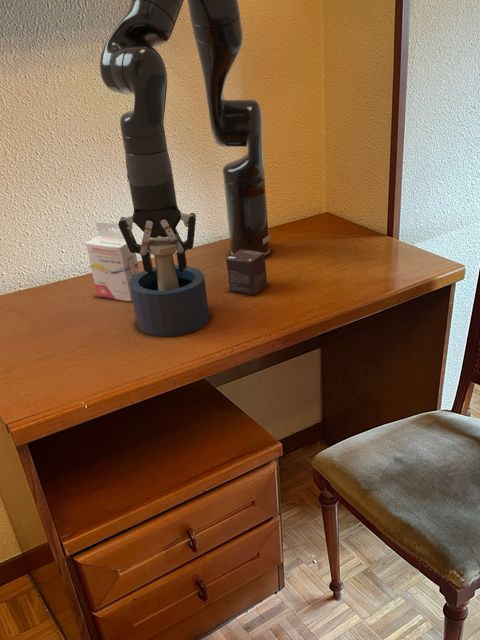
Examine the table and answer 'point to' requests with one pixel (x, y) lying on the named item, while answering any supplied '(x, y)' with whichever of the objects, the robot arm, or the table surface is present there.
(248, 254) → the box
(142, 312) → the jar
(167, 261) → the handle
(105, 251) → the ink cartridge box
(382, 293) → the table surface
